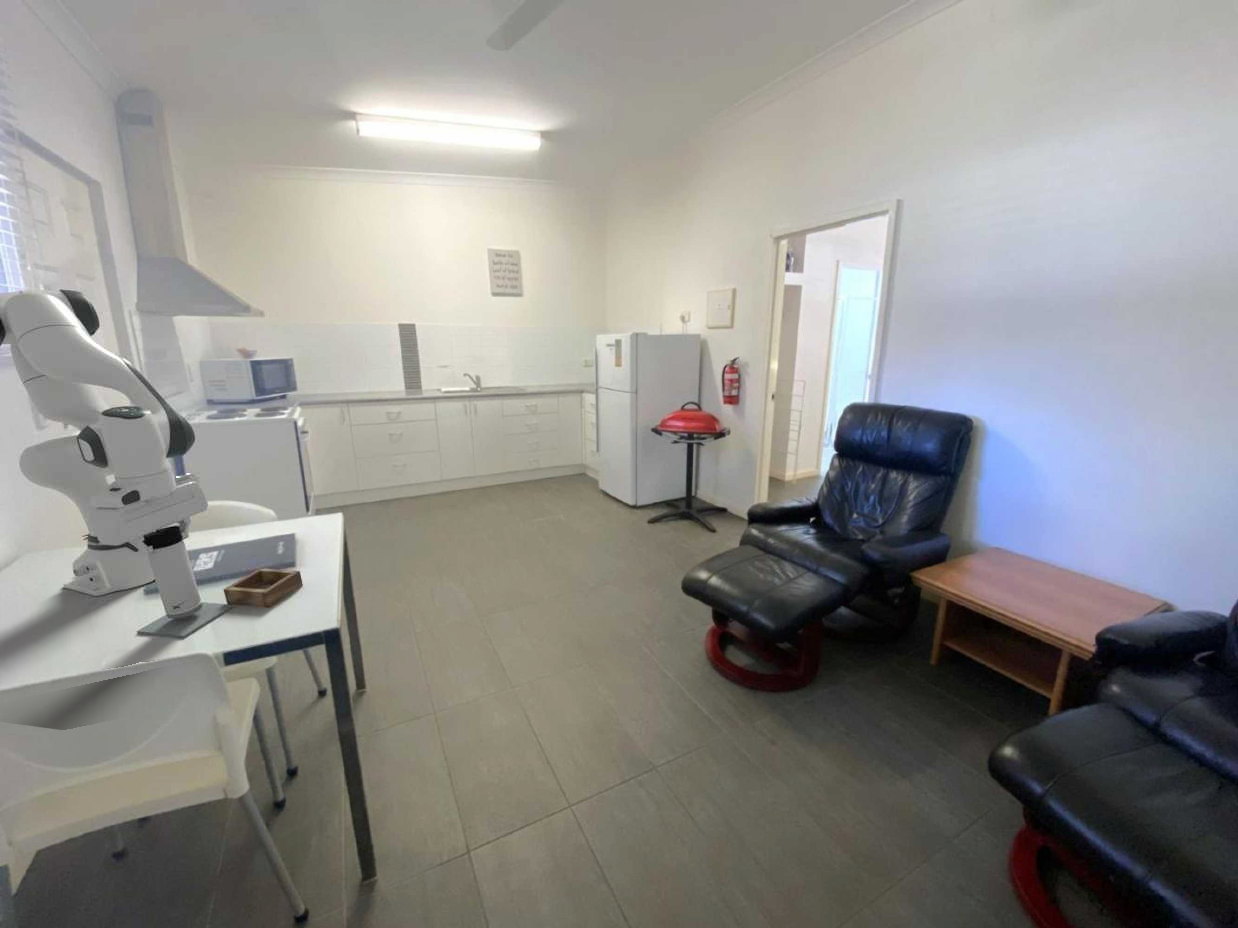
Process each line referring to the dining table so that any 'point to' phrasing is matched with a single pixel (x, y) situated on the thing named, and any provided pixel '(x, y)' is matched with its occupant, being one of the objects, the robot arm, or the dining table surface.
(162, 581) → the travel mug
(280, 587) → the walnut tray
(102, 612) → the dining table surface
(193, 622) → the slate mat
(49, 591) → the dining table surface
